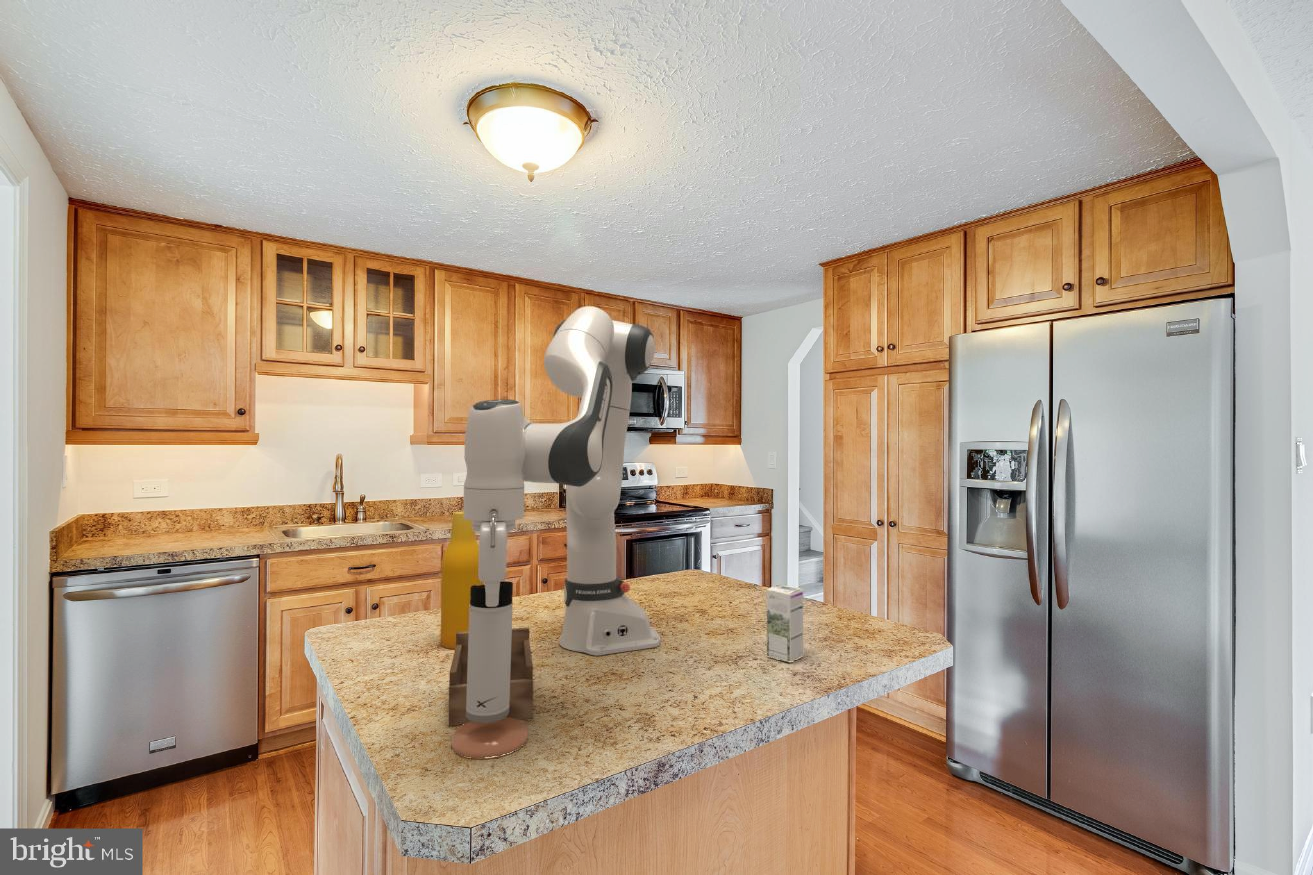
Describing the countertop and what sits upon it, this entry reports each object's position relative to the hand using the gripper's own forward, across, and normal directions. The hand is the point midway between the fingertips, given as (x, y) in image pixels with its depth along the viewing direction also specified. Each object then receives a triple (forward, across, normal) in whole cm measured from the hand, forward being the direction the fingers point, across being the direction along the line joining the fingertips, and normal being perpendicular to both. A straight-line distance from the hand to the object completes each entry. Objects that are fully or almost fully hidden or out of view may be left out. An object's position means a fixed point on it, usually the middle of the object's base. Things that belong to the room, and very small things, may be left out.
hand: (492, 599), depth 93 cm
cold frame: (+21, +14, 0) cm, 26 cm away
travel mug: (+17, 0, 0) cm, 17 cm away
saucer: (+21, 0, 0) cm, 21 cm away
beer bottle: (+22, +48, +7) cm, 54 cm away
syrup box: (+21, +23, -59) cm, 67 cm away
